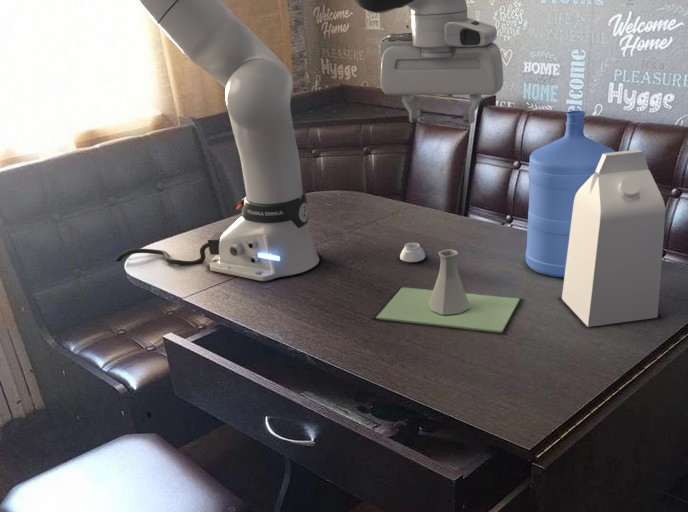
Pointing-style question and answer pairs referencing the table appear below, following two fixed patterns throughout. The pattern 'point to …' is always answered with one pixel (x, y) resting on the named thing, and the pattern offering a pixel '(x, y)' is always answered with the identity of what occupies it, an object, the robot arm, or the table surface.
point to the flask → (448, 287)
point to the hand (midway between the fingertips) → (441, 122)
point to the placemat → (481, 315)
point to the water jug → (558, 194)
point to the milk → (616, 243)
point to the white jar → (412, 253)
